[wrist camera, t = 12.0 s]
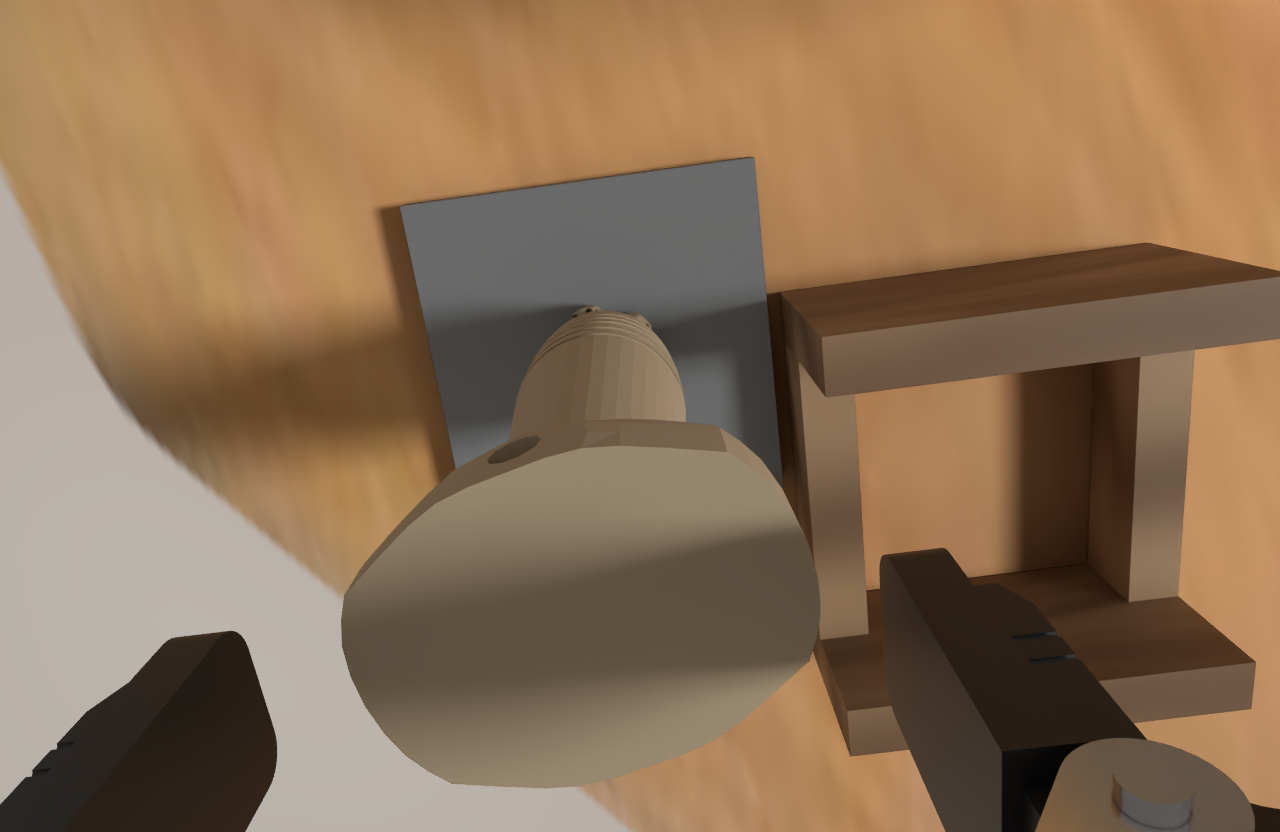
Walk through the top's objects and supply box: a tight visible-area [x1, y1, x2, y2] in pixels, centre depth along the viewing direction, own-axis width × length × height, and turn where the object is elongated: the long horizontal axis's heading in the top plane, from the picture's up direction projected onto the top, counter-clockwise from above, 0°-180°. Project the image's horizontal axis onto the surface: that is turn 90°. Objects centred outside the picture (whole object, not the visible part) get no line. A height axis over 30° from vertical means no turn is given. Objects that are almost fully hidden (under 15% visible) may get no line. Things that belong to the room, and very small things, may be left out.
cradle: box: [779, 243, 1280, 756], centre depth 25 cm, size 12×11×6 cm
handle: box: [341, 305, 821, 788], centre depth 19 cm, size 5×6×15 cm
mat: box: [400, 157, 783, 488], centre depth 26 cm, size 10×10×1 cm
